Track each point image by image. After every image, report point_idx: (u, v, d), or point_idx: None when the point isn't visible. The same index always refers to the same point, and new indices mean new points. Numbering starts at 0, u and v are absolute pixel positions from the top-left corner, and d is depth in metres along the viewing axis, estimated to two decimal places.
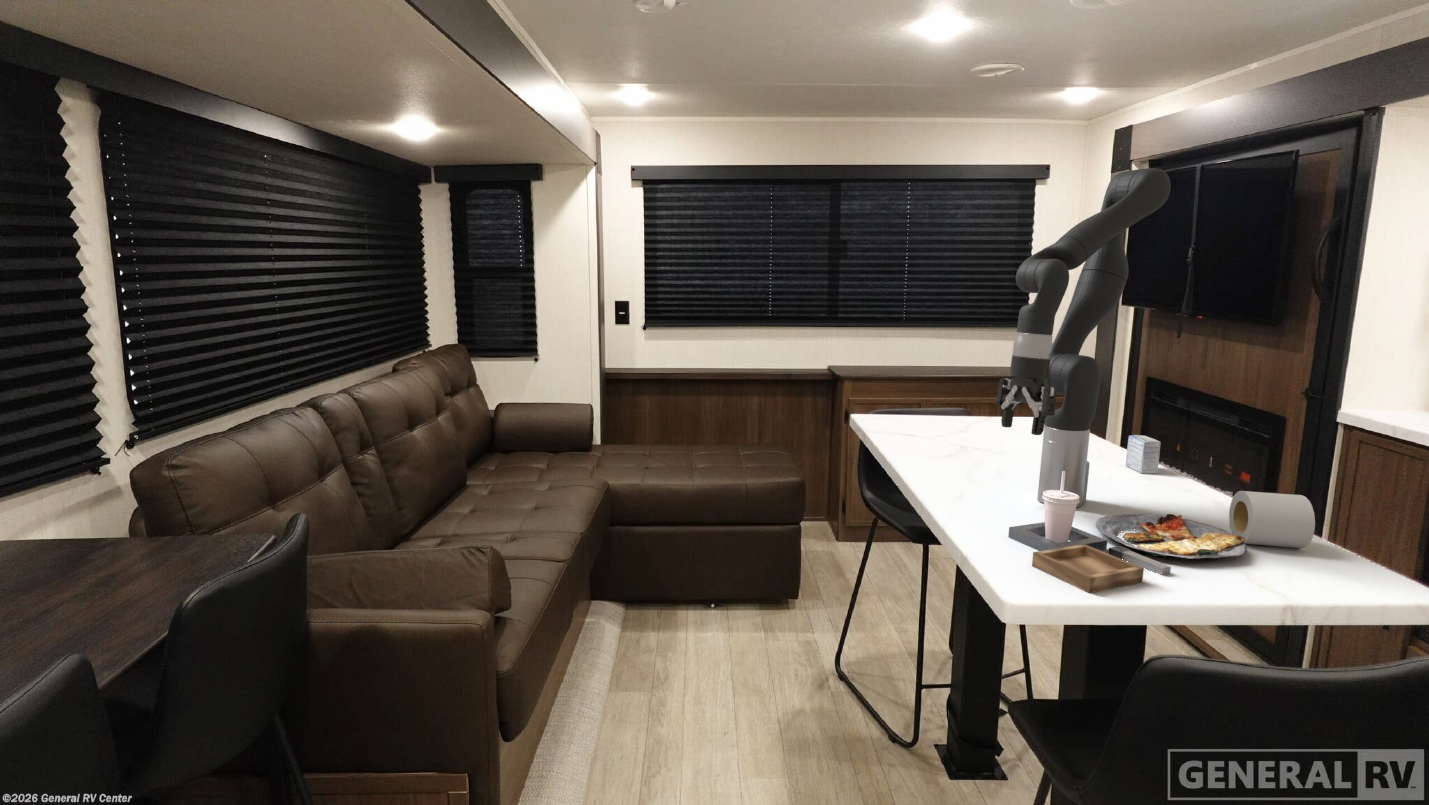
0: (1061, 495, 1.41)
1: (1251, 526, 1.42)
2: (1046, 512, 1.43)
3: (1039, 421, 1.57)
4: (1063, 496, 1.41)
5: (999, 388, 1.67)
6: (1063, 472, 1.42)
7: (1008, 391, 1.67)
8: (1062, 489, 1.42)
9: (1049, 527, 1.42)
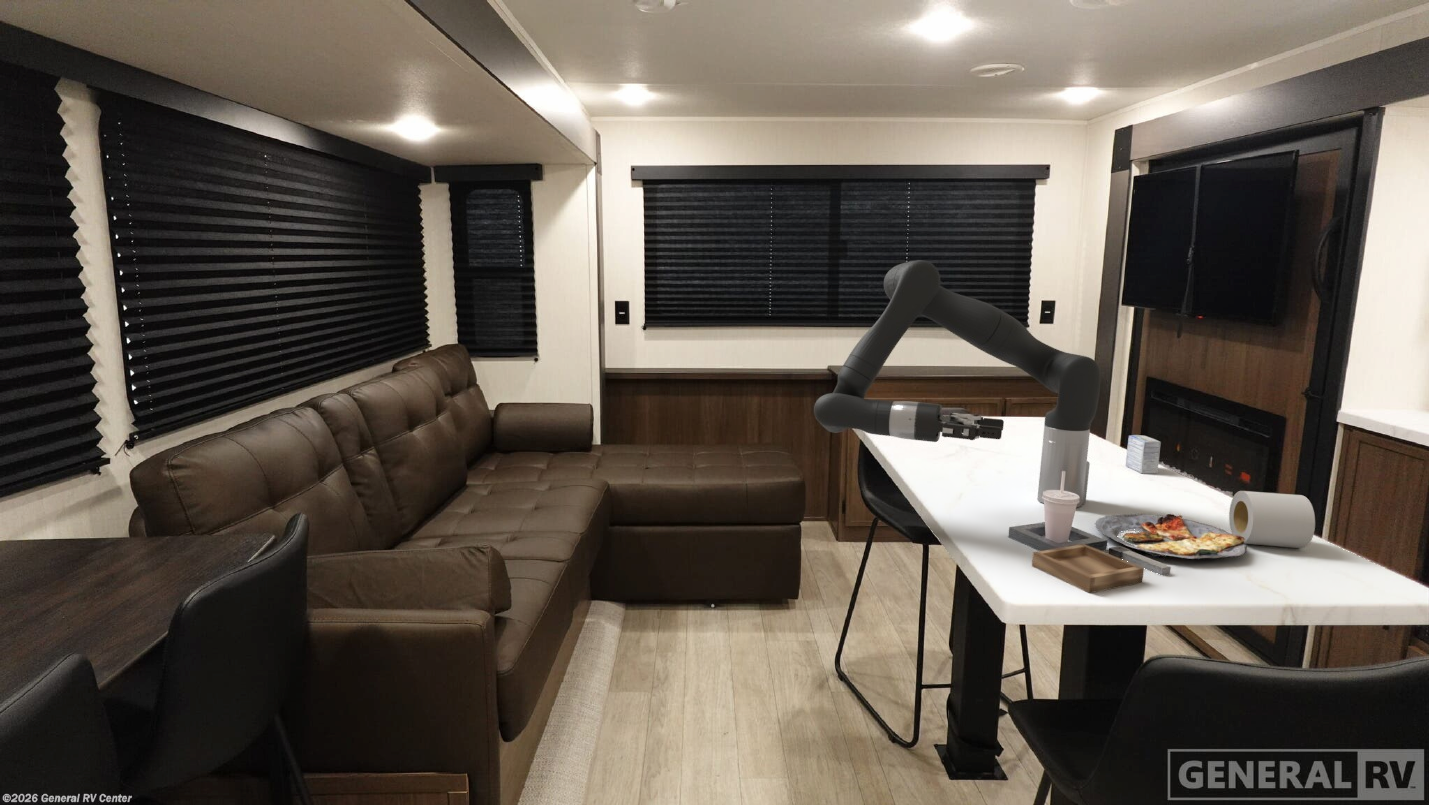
0: (1061, 495, 1.41)
1: (1251, 526, 1.42)
2: (1046, 512, 1.43)
3: (983, 436, 1.41)
4: (1063, 496, 1.41)
5: None
6: (1063, 472, 1.42)
7: None
8: (1062, 489, 1.42)
9: (1049, 526, 1.42)
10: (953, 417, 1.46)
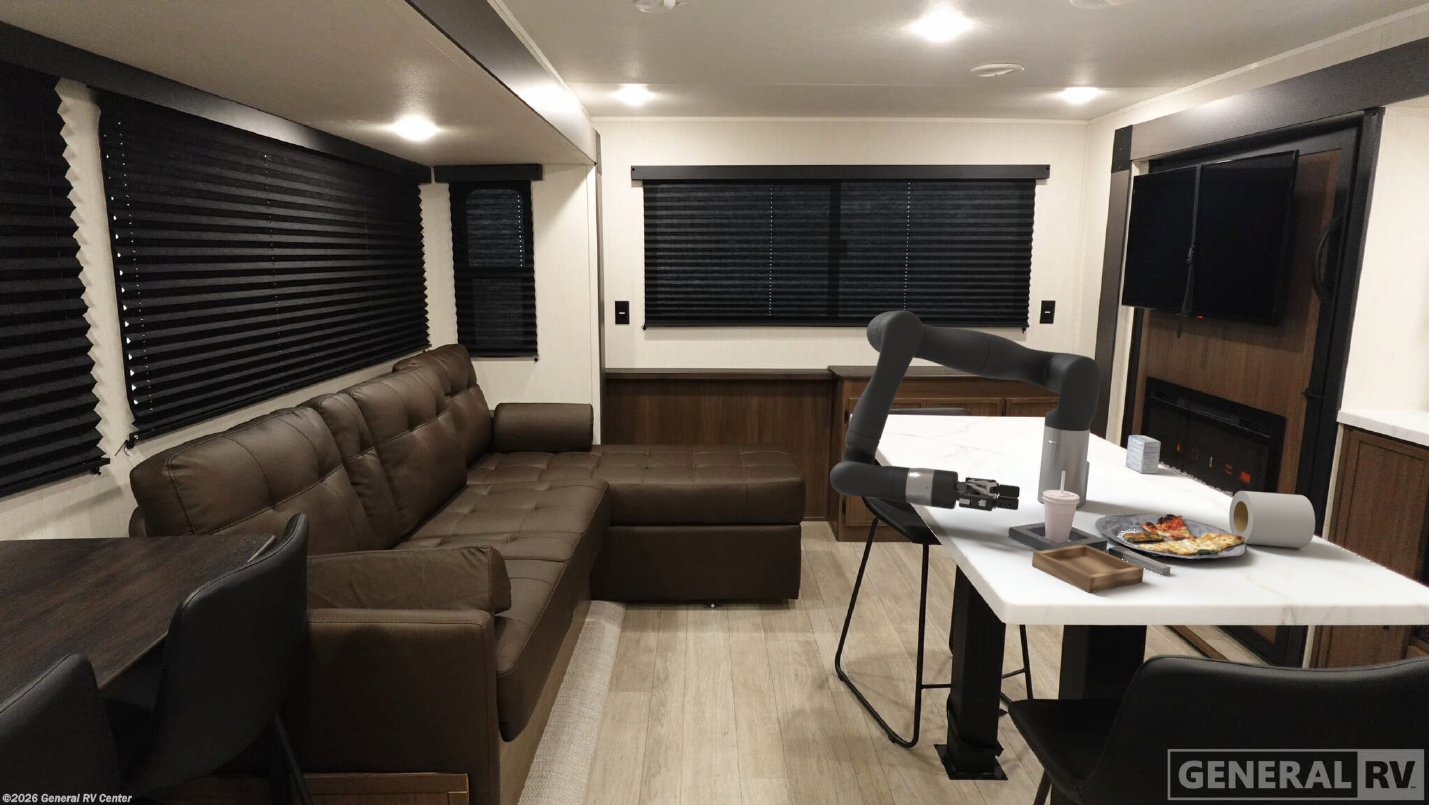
0: (1061, 495, 1.41)
1: (1251, 526, 1.42)
2: (1046, 512, 1.43)
3: (1000, 506, 1.42)
4: (1063, 496, 1.41)
5: None
6: (1063, 472, 1.42)
7: None
8: (1062, 489, 1.42)
9: (1049, 527, 1.42)
10: (969, 486, 1.47)
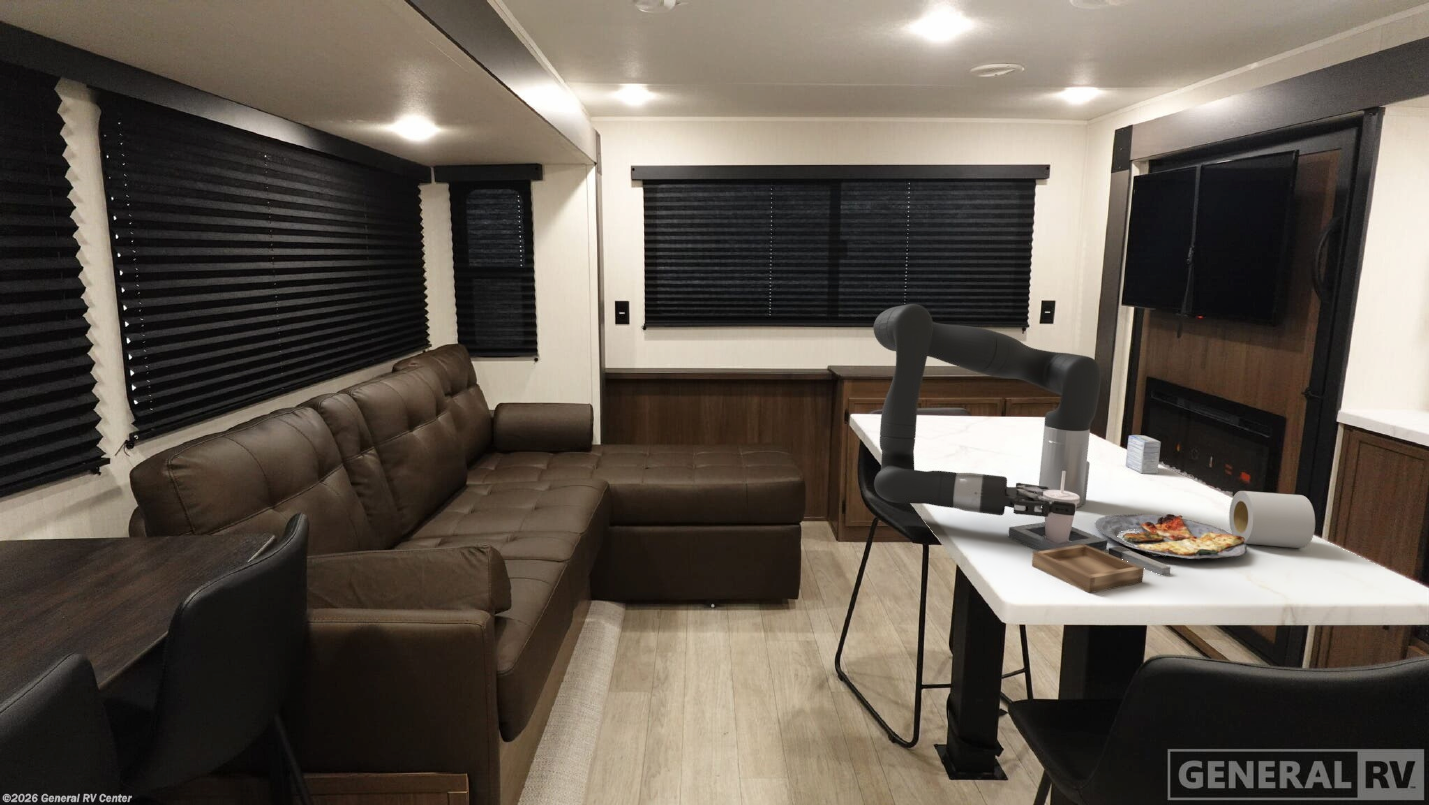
0: (1061, 495, 1.41)
1: (1251, 526, 1.42)
2: None
3: (1057, 512, 1.39)
4: (1063, 496, 1.41)
5: None
6: (1063, 472, 1.42)
7: None
8: (1062, 489, 1.42)
9: (1049, 526, 1.42)
10: (1021, 492, 1.43)
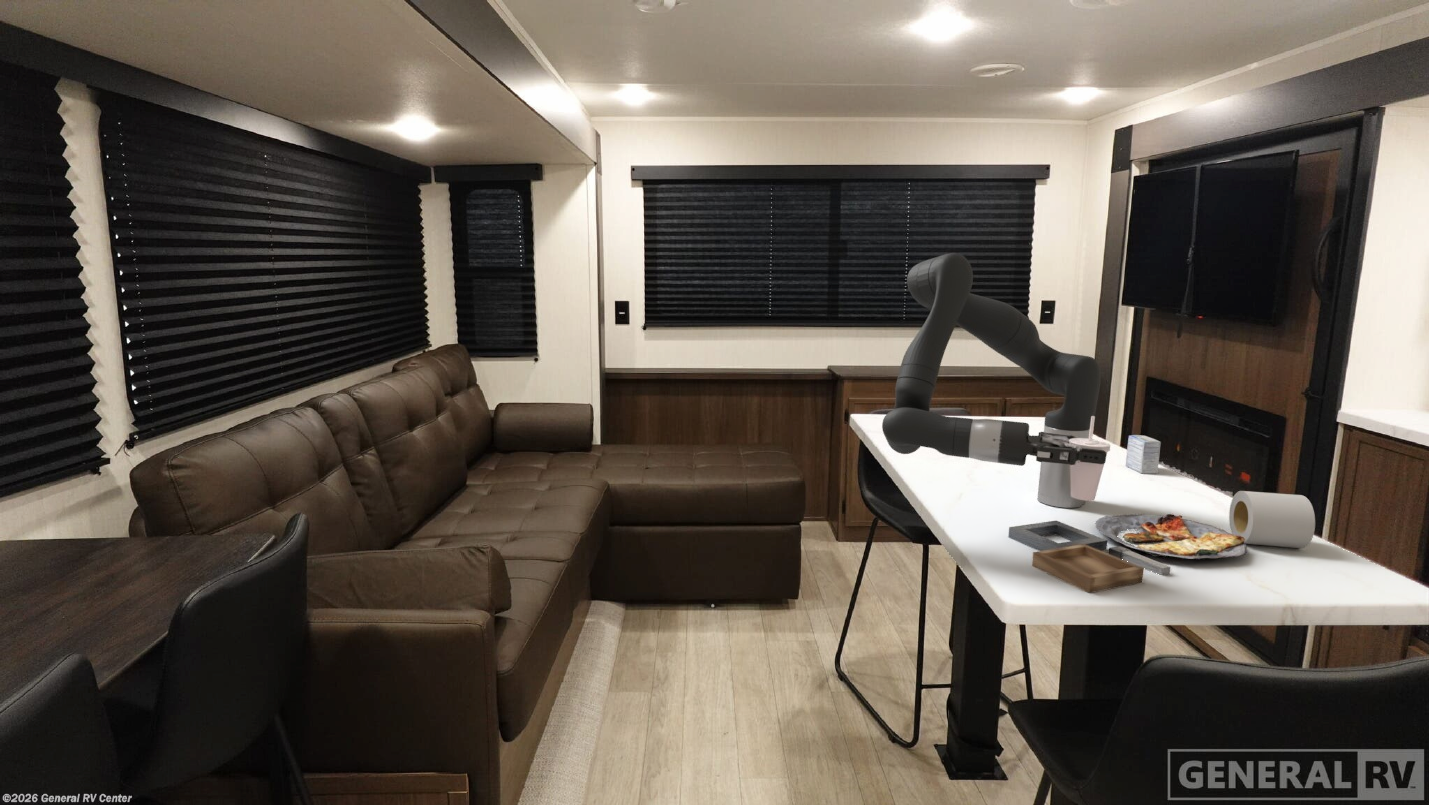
0: (1090, 442, 1.27)
1: (1251, 526, 1.42)
2: None
3: (1085, 460, 1.25)
4: (1092, 443, 1.27)
5: None
6: (1092, 417, 1.28)
7: None
8: (1091, 436, 1.28)
9: (1075, 477, 1.28)
10: (1045, 438, 1.29)
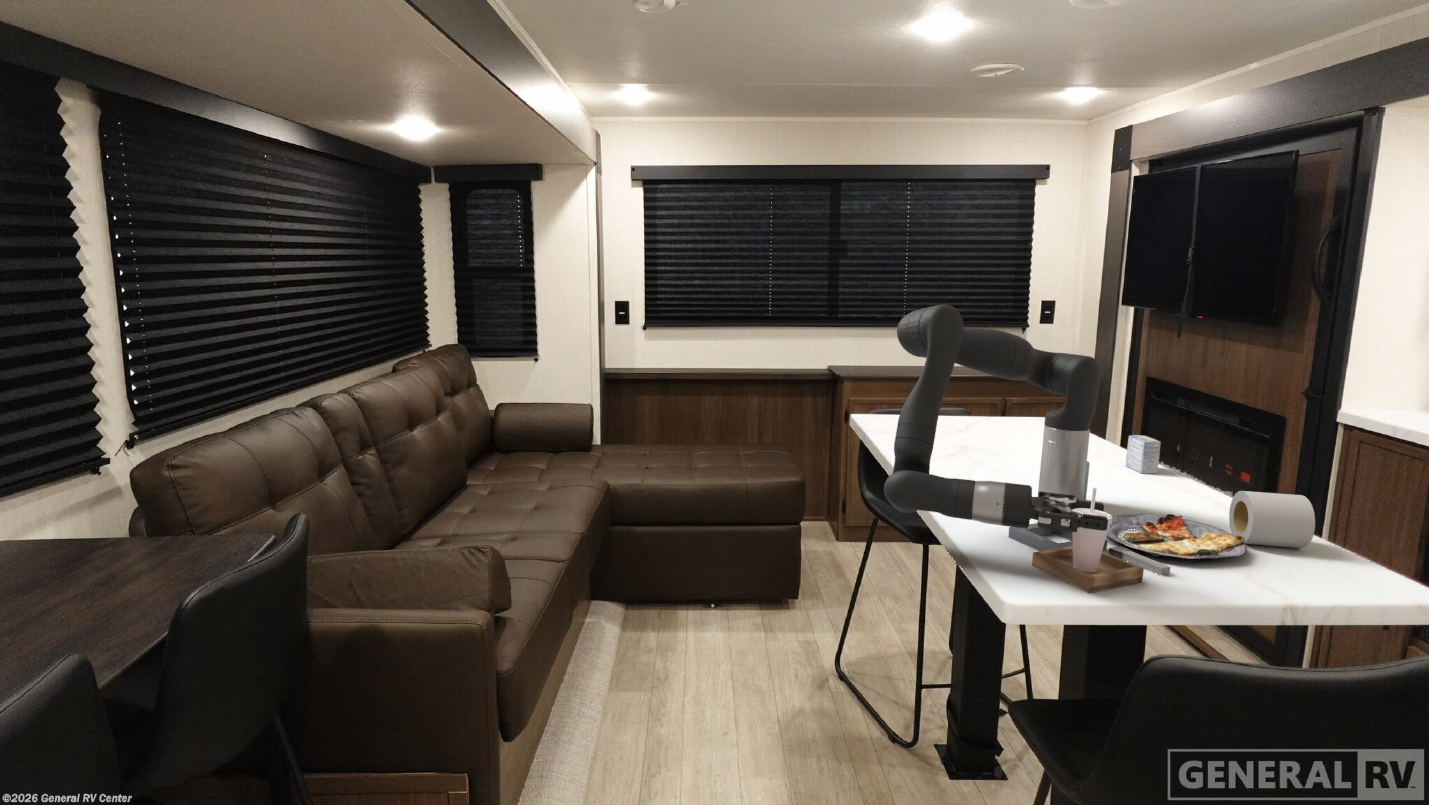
0: (1092, 514, 1.27)
1: (1251, 526, 1.42)
2: (1074, 533, 1.28)
3: (1087, 526, 1.24)
4: None
5: None
6: (1094, 488, 1.27)
7: None
8: (1092, 508, 1.28)
9: (1077, 549, 1.28)
10: (1047, 502, 1.28)
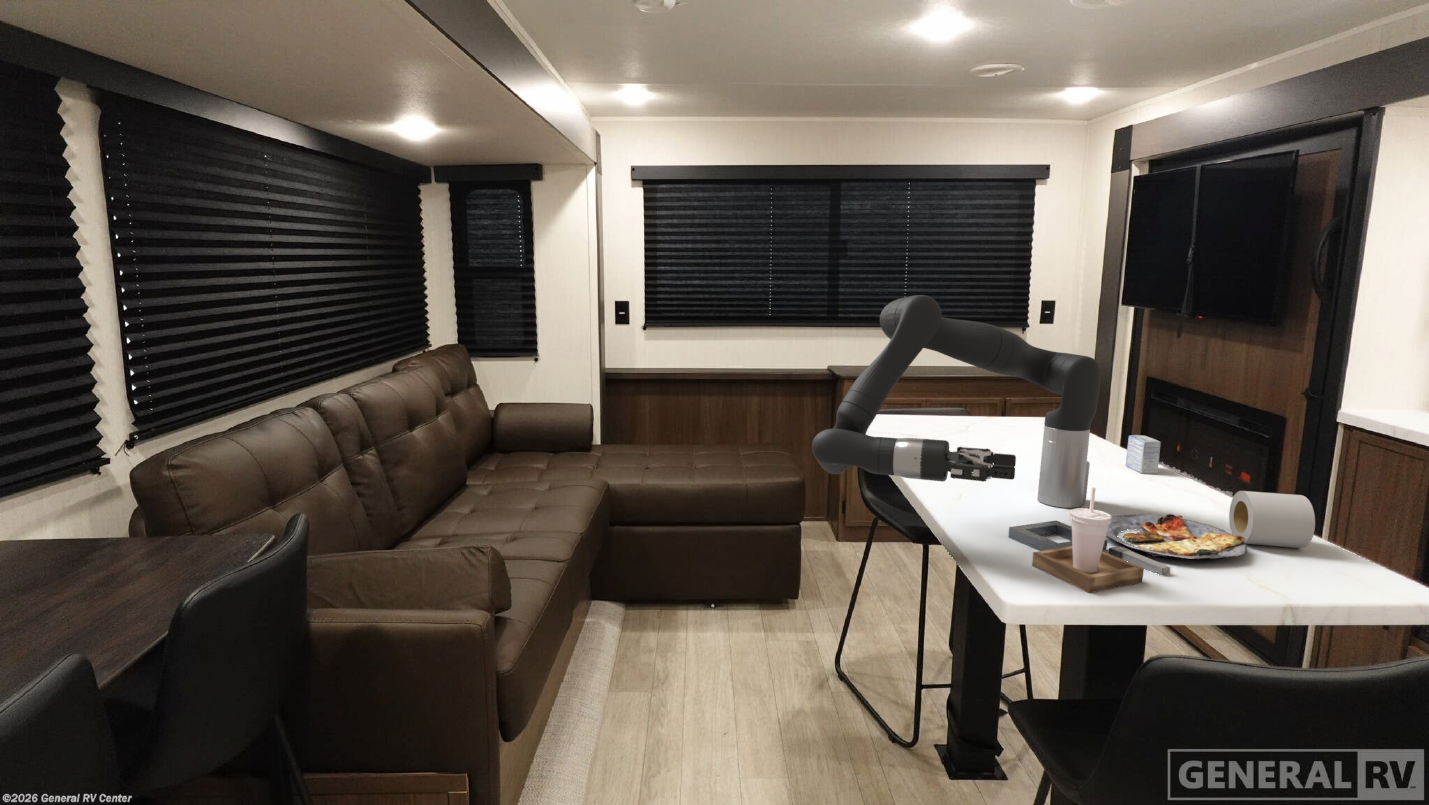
0: (1091, 514, 1.27)
1: (1251, 526, 1.42)
2: (1074, 533, 1.28)
3: (995, 476, 1.31)
4: (1093, 516, 1.26)
5: None
6: (1093, 488, 1.27)
7: None
8: (1092, 508, 1.28)
9: (1077, 549, 1.28)
10: (962, 455, 1.35)
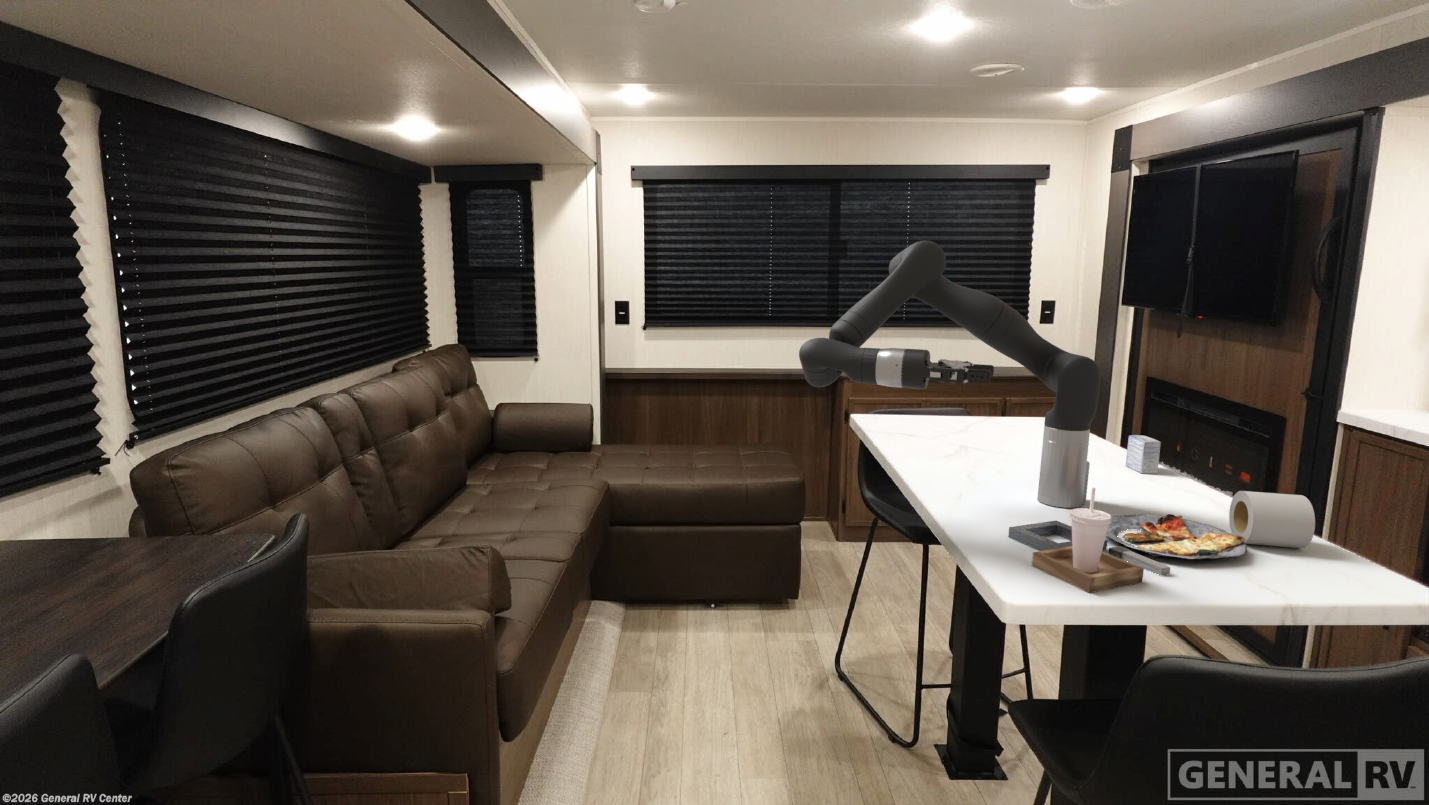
0: (1091, 514, 1.27)
1: (1251, 526, 1.42)
2: (1074, 533, 1.28)
3: (972, 379, 1.36)
4: (1093, 516, 1.26)
5: None
6: (1093, 488, 1.27)
7: None
8: (1092, 508, 1.28)
9: (1077, 549, 1.28)
10: (941, 362, 1.41)
